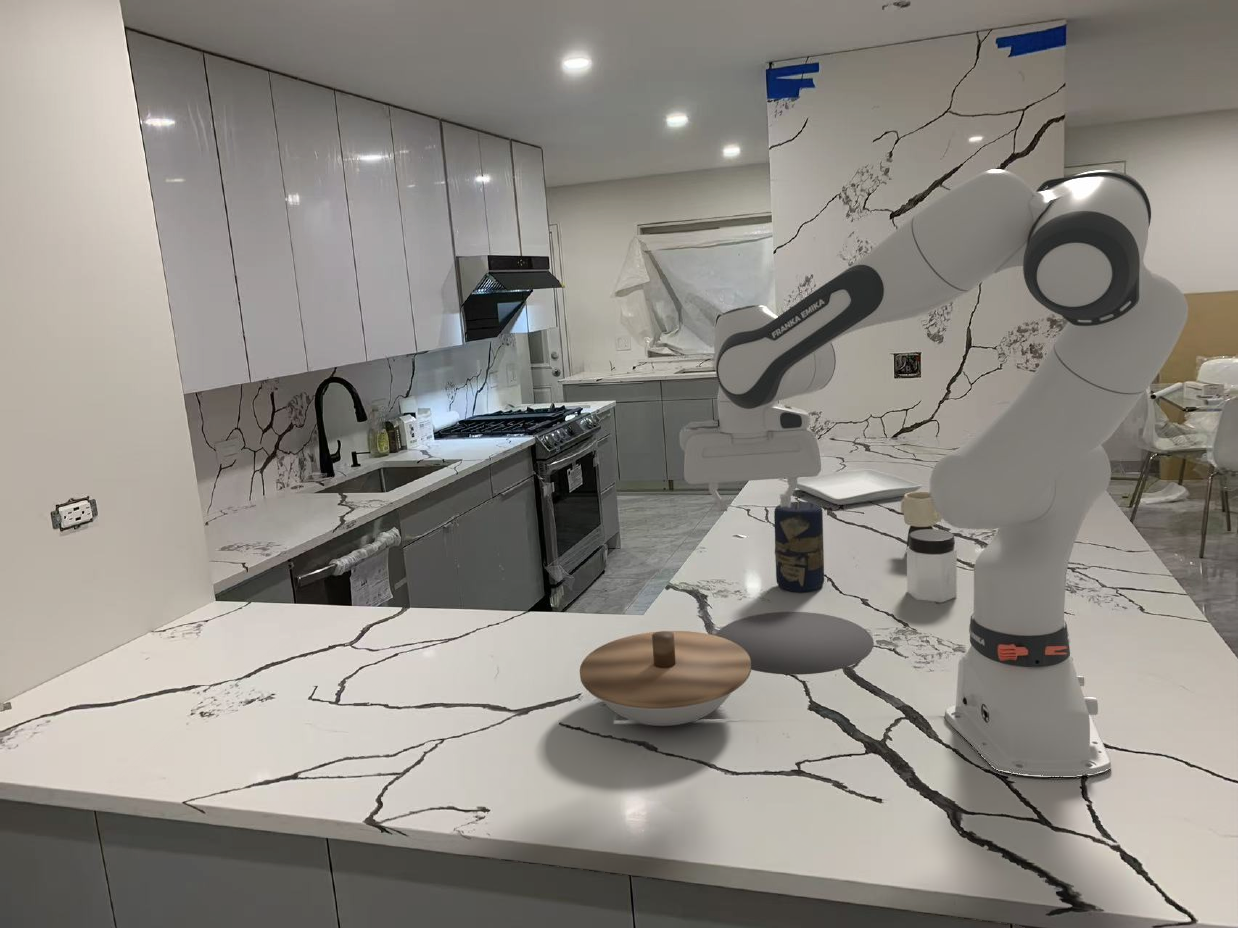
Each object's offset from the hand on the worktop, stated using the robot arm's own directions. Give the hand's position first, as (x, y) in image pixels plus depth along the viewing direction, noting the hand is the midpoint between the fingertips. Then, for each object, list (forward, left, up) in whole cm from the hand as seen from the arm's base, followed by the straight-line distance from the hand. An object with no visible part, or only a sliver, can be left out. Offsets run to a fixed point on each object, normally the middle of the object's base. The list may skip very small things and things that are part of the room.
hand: (754, 508), depth 133 cm
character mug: (+63, -38, -28) cm, 78 cm away
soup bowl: (-10, +14, -28) cm, 33 cm away
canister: (+43, -10, -28) cm, 52 cm away
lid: (-9, +14, -21) cm, 27 cm away
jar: (+36, -34, -28) cm, 56 cm away
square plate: (+121, -32, -28) cm, 128 cm away
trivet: (+15, -6, -28) cm, 32 cm away
